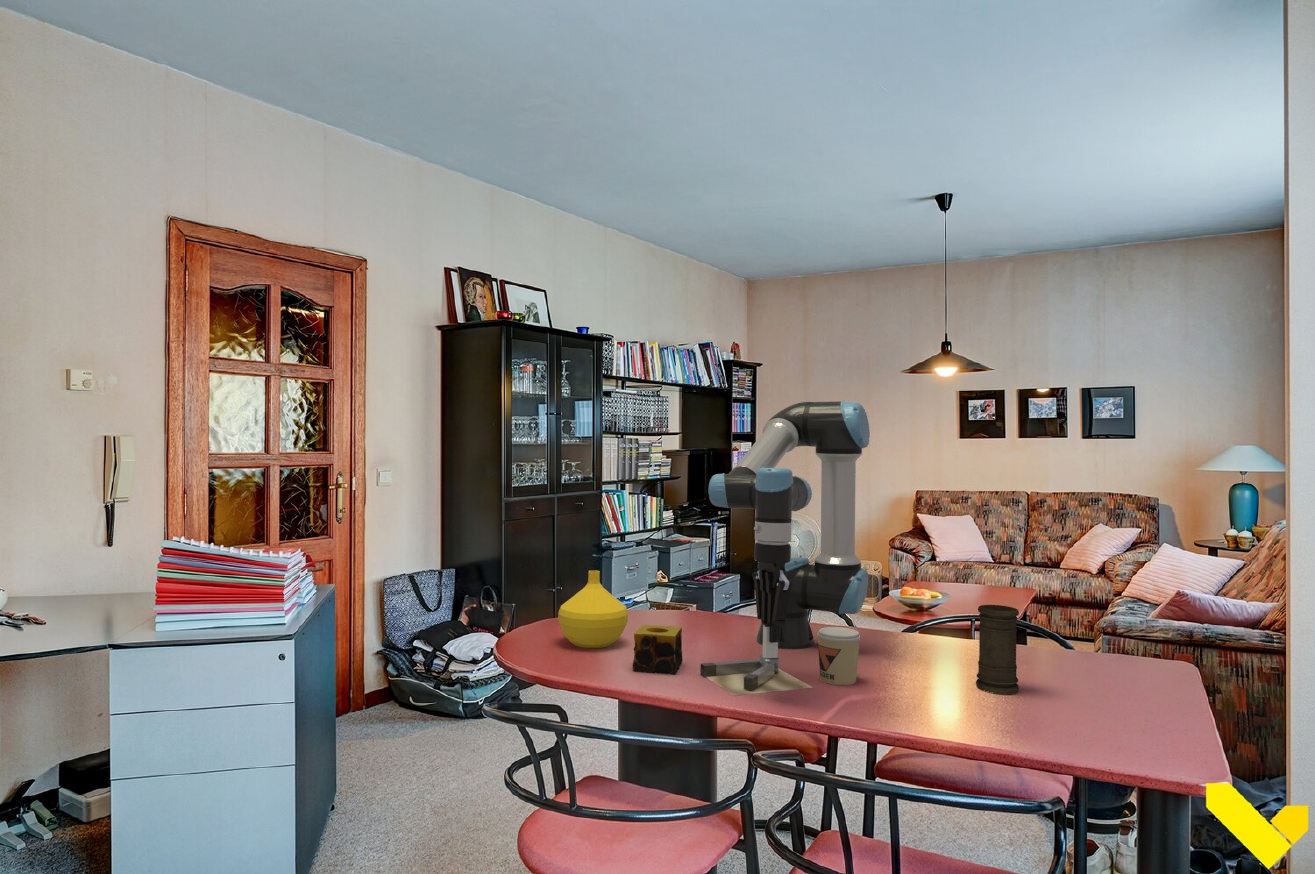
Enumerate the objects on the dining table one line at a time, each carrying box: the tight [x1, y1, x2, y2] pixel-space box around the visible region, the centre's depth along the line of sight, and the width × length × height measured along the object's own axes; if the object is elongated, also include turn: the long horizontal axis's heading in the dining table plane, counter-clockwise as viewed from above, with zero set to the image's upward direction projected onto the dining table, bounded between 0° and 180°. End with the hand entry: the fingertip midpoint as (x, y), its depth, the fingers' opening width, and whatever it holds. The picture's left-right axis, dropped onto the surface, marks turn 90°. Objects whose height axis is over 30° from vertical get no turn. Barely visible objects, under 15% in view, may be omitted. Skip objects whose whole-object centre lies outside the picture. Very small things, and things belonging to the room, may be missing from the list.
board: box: [706, 668, 814, 697], centre depth 181 cm, size 19×17×1 cm
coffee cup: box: [816, 626, 861, 686], centre depth 182 cm, size 9×9×12 cm
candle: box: [632, 624, 684, 676], centre depth 190 cm, size 10×10×10 cm
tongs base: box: [699, 655, 780, 678], centre depth 185 cm, size 18×5×3 cm, turn 111°
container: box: [975, 604, 1020, 695], centre depth 182 cm, size 9×9×18 cm
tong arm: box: [744, 651, 774, 690], centre depth 181 cm, size 18×4×4 cm, turn 151°
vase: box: [557, 570, 629, 649], centre depth 215 cm, size 18×18×19 cm
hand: (769, 657), depth 168 cm, fingers closed
